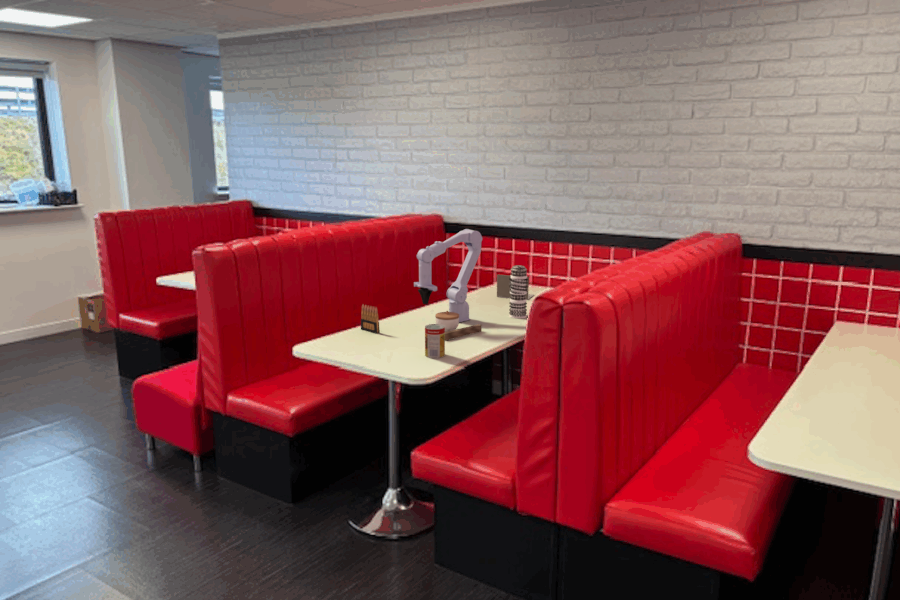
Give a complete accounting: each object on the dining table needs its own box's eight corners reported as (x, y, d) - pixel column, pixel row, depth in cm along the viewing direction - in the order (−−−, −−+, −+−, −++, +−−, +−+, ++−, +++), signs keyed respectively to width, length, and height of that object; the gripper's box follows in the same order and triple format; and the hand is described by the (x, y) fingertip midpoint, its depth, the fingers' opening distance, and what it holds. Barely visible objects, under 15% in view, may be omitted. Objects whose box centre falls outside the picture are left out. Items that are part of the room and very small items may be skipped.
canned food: (444, 352, 279) (444, 323, 277) (445, 358, 272) (445, 329, 269) (425, 352, 279) (424, 323, 276) (425, 358, 271) (424, 329, 269)
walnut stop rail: (478, 330, 312) (478, 324, 311) (481, 331, 310) (481, 325, 310) (441, 339, 297) (441, 332, 297) (445, 340, 296) (445, 333, 295)
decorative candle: (517, 319, 331) (518, 268, 326) (504, 315, 339) (505, 265, 333) (531, 316, 337) (532, 266, 331) (518, 313, 344) (519, 263, 338)
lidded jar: (463, 330, 313) (463, 310, 310) (451, 335, 304) (451, 315, 302) (443, 326, 318) (443, 307, 316) (430, 332, 309) (430, 312, 307)
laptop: (534, 295, 384) (534, 273, 381) (528, 300, 373) (528, 276, 370) (503, 293, 391) (504, 270, 388) (496, 297, 379) (496, 274, 377)
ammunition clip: (379, 332, 308) (379, 306, 305) (376, 333, 306) (376, 307, 304) (363, 328, 315) (363, 303, 312) (360, 329, 313) (360, 303, 311)
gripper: (408, 274, 319) (409, 302, 322) (428, 278, 309) (429, 307, 312) (420, 272, 324) (420, 300, 327) (440, 276, 313) (440, 305, 316)
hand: (425, 303), depth 320 cm, fingers closed
